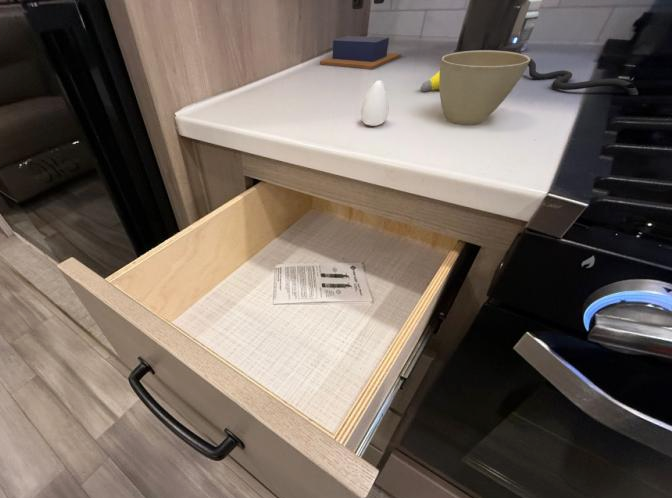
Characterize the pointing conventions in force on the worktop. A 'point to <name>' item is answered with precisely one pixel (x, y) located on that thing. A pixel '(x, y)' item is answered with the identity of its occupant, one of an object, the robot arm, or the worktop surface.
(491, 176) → the worktop surface
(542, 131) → the worktop surface
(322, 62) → the mat
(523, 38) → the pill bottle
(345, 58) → the navy rectangular block
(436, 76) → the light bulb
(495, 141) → the worktop surface
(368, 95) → the egg
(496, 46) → the robot arm
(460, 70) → the flower pot
